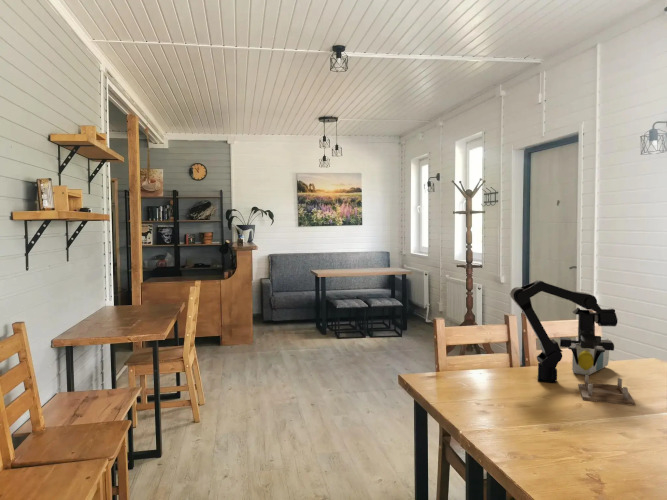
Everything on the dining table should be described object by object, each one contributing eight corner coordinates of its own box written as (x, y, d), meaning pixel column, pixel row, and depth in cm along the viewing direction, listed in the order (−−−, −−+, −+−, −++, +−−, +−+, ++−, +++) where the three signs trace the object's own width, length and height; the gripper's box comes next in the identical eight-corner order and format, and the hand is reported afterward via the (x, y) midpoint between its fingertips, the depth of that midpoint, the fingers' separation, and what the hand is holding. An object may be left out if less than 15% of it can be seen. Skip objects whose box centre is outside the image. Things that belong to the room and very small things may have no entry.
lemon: (589, 368, 201) (590, 348, 201) (595, 372, 195) (596, 352, 195) (575, 368, 201) (575, 348, 201) (580, 372, 196) (581, 351, 196)
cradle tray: (582, 399, 178) (583, 385, 178) (578, 386, 193) (578, 373, 193) (635, 405, 173) (635, 390, 172) (626, 391, 188) (626, 377, 187)
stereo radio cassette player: (589, 377, 204) (590, 328, 203) (569, 373, 210) (570, 325, 209) (609, 367, 218) (610, 321, 217) (589, 364, 224) (590, 319, 223)
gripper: (561, 328, 193) (560, 368, 194) (617, 331, 187) (616, 373, 188) (559, 322, 204) (558, 361, 204) (612, 325, 197) (611, 365, 198)
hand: (585, 365), depth 198 cm, fingers closed on lemon, 5 cm apart
